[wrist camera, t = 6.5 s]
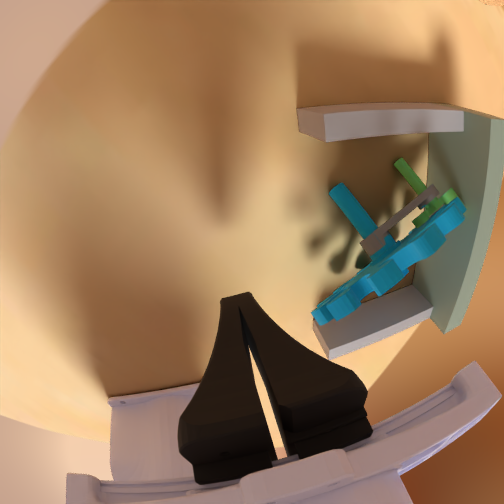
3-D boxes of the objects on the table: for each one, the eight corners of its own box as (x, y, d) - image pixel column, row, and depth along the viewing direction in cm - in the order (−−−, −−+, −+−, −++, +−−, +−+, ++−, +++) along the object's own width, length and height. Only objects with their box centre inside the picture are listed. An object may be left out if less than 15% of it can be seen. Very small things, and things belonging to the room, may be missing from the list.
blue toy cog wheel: (315, 329, 19) (352, 346, 9) (264, 257, 20) (251, 205, 10) (429, 237, 19) (512, 186, 9) (382, 175, 21) (436, 92, 11)
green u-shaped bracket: (313, 330, 21) (340, 382, 17) (296, 108, 13) (348, 119, 9) (426, 287, 22) (460, 324, 18) (447, 103, 14) (507, 120, 10)
